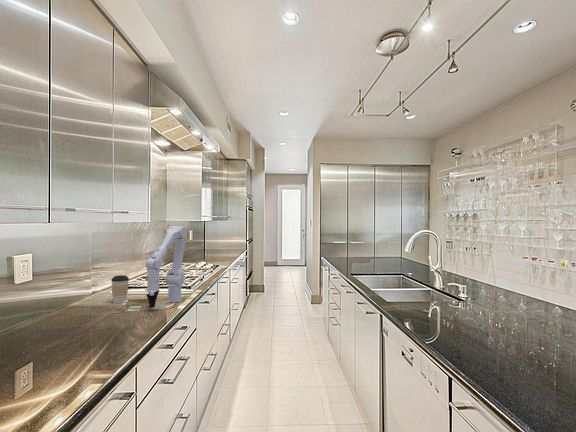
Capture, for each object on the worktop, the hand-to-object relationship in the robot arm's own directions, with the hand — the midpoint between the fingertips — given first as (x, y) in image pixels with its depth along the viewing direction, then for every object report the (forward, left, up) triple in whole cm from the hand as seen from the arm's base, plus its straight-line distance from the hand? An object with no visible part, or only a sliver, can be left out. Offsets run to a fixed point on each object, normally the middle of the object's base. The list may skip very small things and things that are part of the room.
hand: (152, 305), depth 175 cm
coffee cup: (-18, -20, -2) cm, 27 cm away
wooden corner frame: (-2, -8, -1) cm, 8 cm away
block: (0, +3, -2) cm, 3 cm away
